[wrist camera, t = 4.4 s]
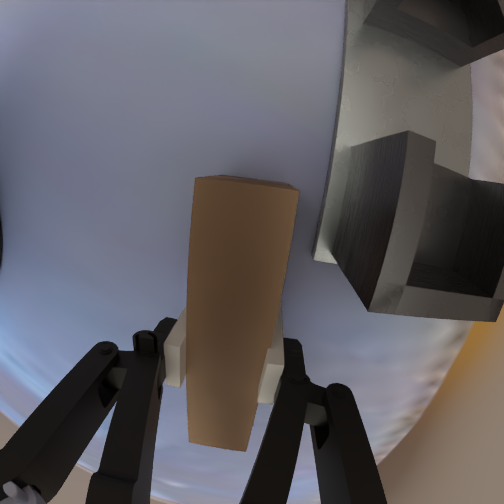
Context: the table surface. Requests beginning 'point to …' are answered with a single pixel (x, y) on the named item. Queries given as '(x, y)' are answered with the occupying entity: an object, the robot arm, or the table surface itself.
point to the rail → (233, 300)
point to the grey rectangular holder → (413, 162)
